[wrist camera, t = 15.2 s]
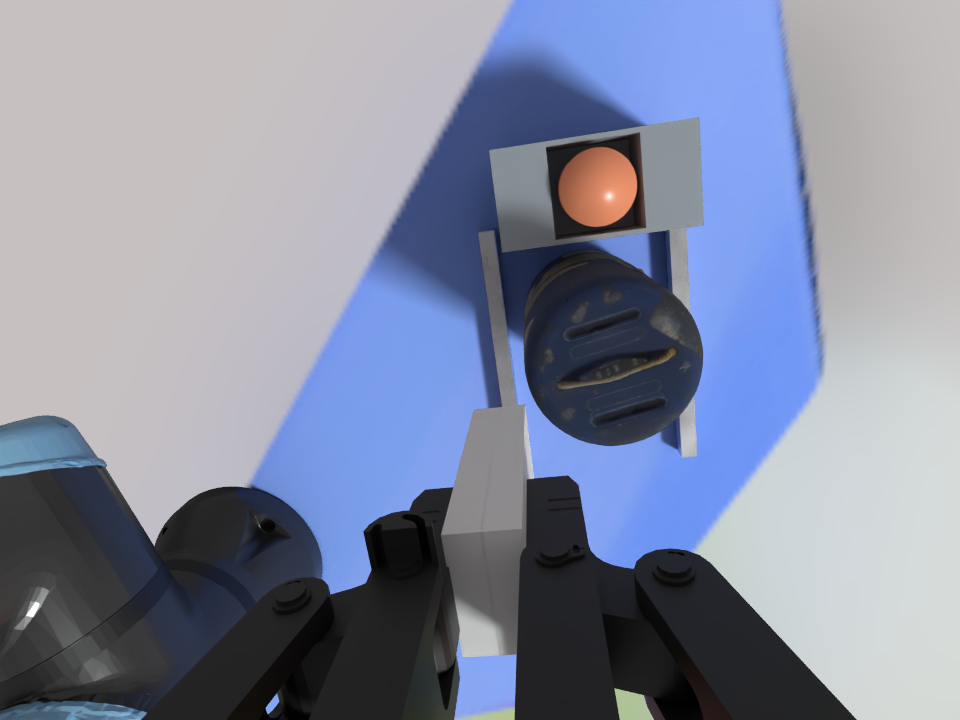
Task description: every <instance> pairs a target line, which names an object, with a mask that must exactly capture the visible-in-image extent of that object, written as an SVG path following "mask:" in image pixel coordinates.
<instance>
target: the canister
mask: <svg viewBox="0 0 960 720" xmlns="http://www.w3.org/2000/svg"><path fill="white" fill-rule="evenodd" d="M524 364H525V373H526V378H527V382H528V386H529V389H530V391H531V394H532V396H533V398H534V400H535V402H536V404H537V406H538V407H539V408H540V410H541V411H542V413H543V414H544V415H545V416H546V417H547V418H548V419H549V420H550V422H551V423H553V424H554V425H555V426H556V427H558V428H559V429H560V430H562V431H563V432H565V433H566V434H569V435H570V436H572V437H574V438H576V439H578V440H581V441H584V442H587V443H592V444H597V445H604V446H618V445H625V444H630V443H634V442H638V441H641V440H644V439H646V438H648V437H651V436H653V435H655V434H656V433H658V432H660V431H662V430H663V429H665V428H666V427H668V426H669V425H670V424H671V423H672V421H674V420H675V419H676V418H678V417H679V416H680V415H681V414H682V413H683V411H684V410H685V409H686V408H687V406H688V405H689V403H690V401H691V400H692V398H693V397H694V395H695V392H696V390H697V388H698V385H699V381H700V378H701V373H702V367H703V347H702V342H701V337H700V334H699V331H698V328H697V326H696V323H695V321H694V319H693V317H692V315H691V314H690V312H689V311H688V309H687V308H686V307H685V305H684V304H683V303H682V302H681V301H680V300H679V299H678V298H677V297H676V296H675V295H674V294H673V293H672V292H670V291H669V290H668V289H666V288H665V287H663V286H662V285H660V284H658V283H656V282H655V281H653V280H652V279H651V278H649V277H648V276H647V275H646V274H644V272H643V270H642V269H637V268H636V267H634V266H633V265H631V264H629V263H627V262H625V261H623V260H622V259H620V258H618V257H615V256H613V255H611V254H608V253H606V252H602V251H597V250H579V251H574V252H570V253H567V254H565V255H562V256H560V257H558V258H557V259H555V260H554V261H552V262H551V263H549V264H548V265H547V266H546V267H545V268H544V269H543V270H542V271H541V272H540V273H539V274H538V275H537V277H536V278H535V280H534V281H533V283H532V285H531V287H530V290H529V292H528V295H527V299H526V304H525V316H524Z"/></svg>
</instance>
